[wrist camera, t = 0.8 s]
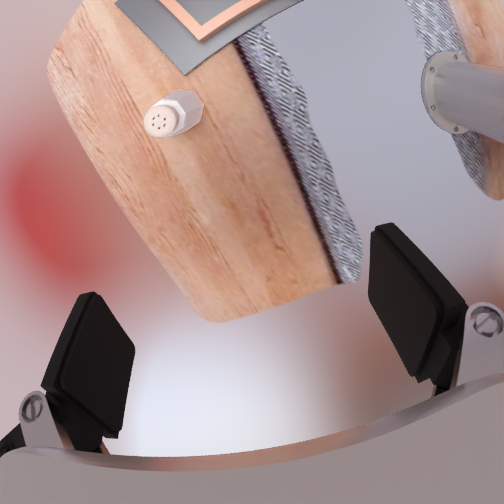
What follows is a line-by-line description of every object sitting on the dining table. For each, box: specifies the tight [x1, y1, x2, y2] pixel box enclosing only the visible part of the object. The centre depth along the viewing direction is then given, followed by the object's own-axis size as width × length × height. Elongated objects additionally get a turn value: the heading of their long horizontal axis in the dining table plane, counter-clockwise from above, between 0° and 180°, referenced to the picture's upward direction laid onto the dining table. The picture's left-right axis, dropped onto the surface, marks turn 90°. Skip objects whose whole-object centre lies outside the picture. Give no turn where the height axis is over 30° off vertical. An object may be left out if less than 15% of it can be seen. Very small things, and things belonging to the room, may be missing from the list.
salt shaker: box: [144, 89, 204, 138], centre depth 25 cm, size 5×5×11 cm
